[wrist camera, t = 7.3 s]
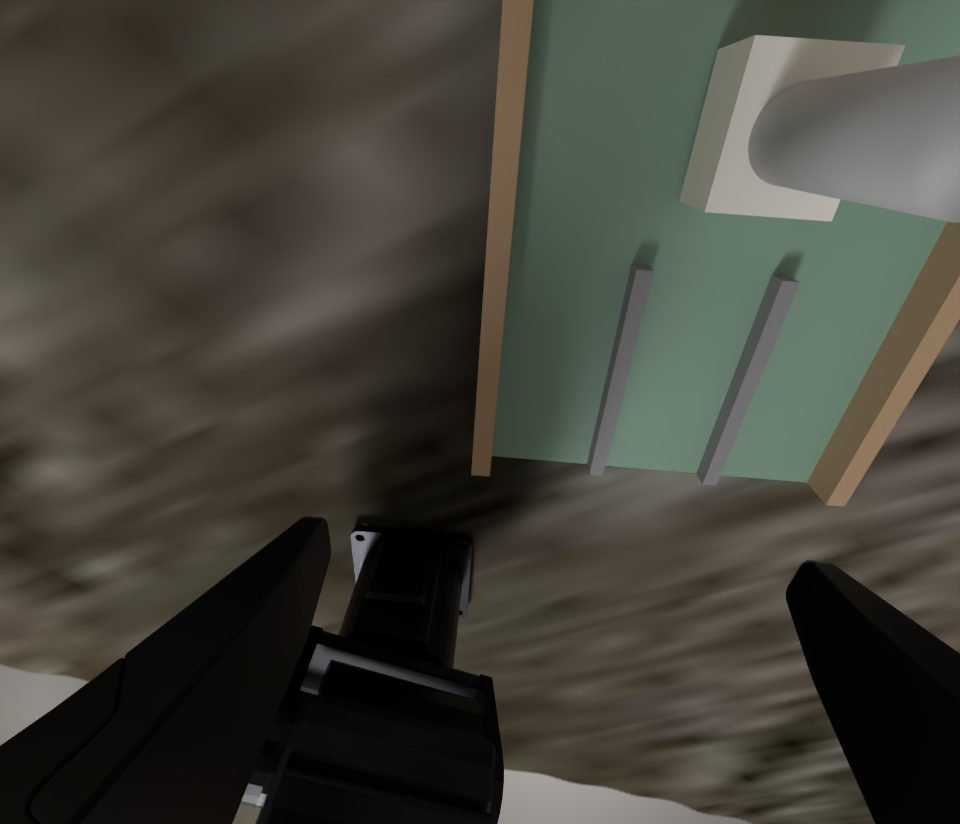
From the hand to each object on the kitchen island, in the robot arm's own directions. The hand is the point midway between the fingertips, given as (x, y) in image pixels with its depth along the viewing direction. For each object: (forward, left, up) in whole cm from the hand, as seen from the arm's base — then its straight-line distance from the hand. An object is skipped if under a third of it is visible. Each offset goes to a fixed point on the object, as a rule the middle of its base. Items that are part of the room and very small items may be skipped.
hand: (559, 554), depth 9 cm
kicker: (+7, -6, -11) cm, 14 cm away
